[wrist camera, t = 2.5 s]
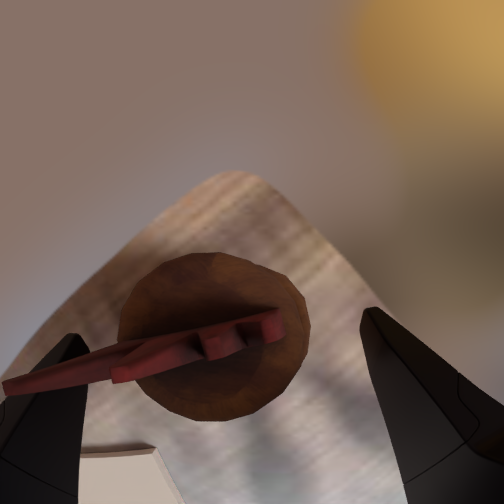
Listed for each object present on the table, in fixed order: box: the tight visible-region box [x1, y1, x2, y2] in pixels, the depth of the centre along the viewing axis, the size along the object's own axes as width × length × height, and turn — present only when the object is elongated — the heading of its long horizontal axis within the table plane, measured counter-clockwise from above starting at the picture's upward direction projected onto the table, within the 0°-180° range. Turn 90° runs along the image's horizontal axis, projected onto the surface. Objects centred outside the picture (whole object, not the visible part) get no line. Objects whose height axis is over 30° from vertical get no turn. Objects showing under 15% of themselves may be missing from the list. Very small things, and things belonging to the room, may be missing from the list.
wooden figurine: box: [2, 252, 311, 421], centre depth 10 cm, size 7×6×15 cm
